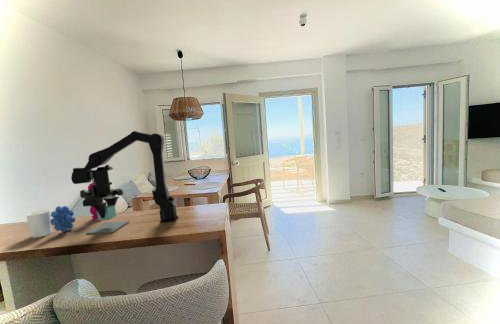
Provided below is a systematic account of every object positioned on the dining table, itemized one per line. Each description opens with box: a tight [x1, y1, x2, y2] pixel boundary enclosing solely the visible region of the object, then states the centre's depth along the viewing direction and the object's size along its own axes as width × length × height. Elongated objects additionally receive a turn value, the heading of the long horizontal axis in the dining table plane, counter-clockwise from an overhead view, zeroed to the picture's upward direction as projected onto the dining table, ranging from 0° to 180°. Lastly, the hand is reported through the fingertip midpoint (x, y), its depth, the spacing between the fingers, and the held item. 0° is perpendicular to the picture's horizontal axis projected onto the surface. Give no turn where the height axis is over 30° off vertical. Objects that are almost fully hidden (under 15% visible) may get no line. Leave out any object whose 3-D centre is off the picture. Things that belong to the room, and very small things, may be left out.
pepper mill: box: [87, 179, 98, 221], centre depth 125 cm, size 7×7×20 cm
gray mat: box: [85, 220, 130, 235], centre depth 110 cm, size 12×12×1 cm
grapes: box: [50, 205, 76, 233], centre depth 109 cm, size 12×7×12 cm, turn 175°
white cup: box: [26, 209, 53, 239], centre depth 108 cm, size 8×8×10 cm
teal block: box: [97, 205, 117, 221], centre depth 109 cm, size 5×5×5 cm
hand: (107, 216), depth 110 cm, fingers closed on teal block, 5 cm apart
